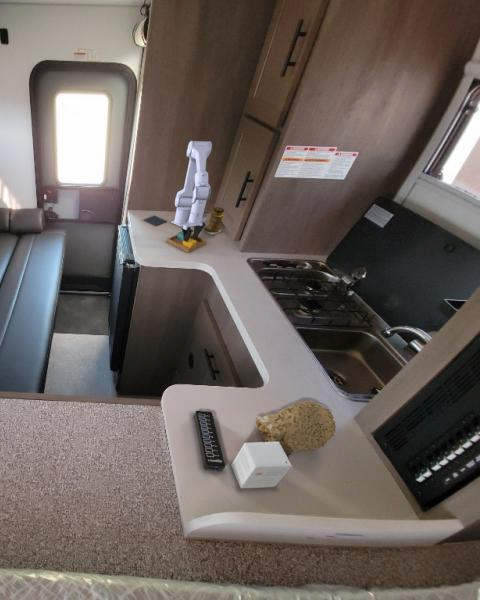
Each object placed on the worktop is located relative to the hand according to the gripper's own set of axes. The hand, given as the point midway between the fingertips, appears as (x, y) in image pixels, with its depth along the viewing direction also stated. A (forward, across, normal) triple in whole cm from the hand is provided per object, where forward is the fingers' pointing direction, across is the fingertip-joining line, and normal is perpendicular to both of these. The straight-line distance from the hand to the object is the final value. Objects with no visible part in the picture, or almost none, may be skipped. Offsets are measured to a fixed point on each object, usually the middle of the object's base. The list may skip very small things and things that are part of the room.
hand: (190, 239), depth 159 cm
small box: (+5, -78, -77) cm, 110 cm away
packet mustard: (+4, 0, 0) cm, 4 cm away
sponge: (+5, -60, -78) cm, 98 cm away
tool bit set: (+5, -79, -66) cm, 103 cm away
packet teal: (+4, +4, +6) cm, 8 cm away
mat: (+4, +9, +30) cm, 32 cm away
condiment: (+4, +24, +4) cm, 25 cm away
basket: (+4, +2, +3) cm, 6 cm away
